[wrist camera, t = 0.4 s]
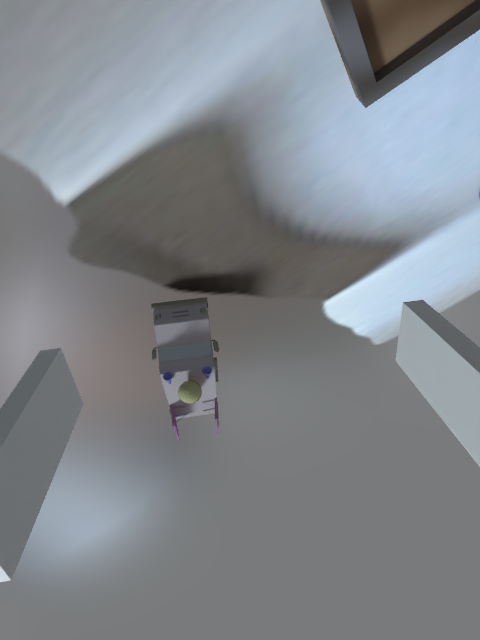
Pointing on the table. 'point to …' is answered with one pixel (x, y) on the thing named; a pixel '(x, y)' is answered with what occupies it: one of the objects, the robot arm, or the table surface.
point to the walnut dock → (396, 38)
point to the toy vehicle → (186, 358)
